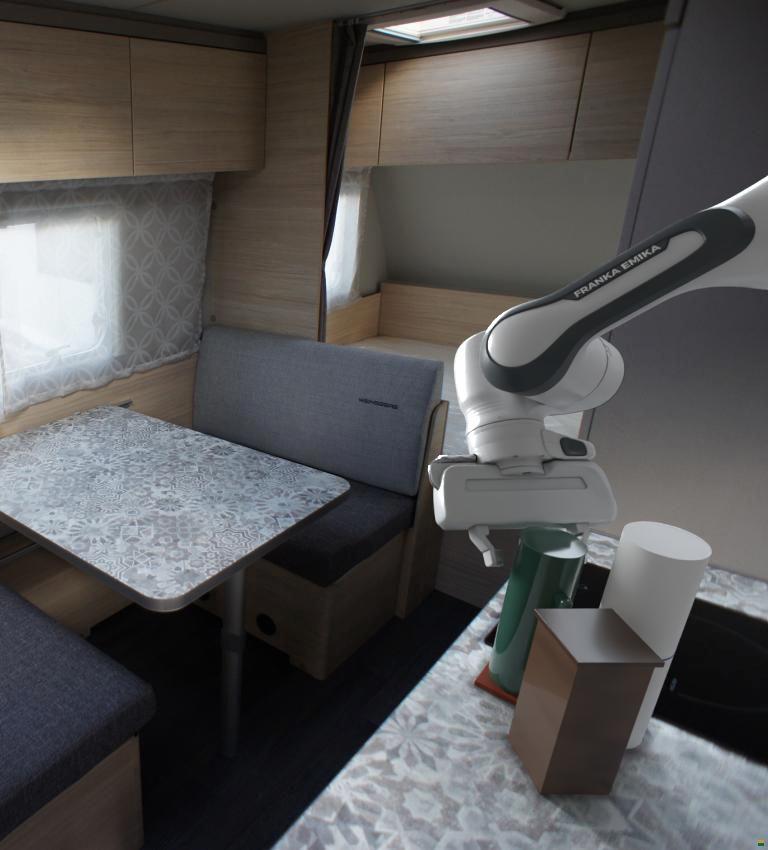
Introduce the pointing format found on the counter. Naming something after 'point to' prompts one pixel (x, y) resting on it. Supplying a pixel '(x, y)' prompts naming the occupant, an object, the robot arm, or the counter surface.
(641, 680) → the stand
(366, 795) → the counter surface
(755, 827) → the counter surface
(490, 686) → the pad
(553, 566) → the jug
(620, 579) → the cylindrical container
